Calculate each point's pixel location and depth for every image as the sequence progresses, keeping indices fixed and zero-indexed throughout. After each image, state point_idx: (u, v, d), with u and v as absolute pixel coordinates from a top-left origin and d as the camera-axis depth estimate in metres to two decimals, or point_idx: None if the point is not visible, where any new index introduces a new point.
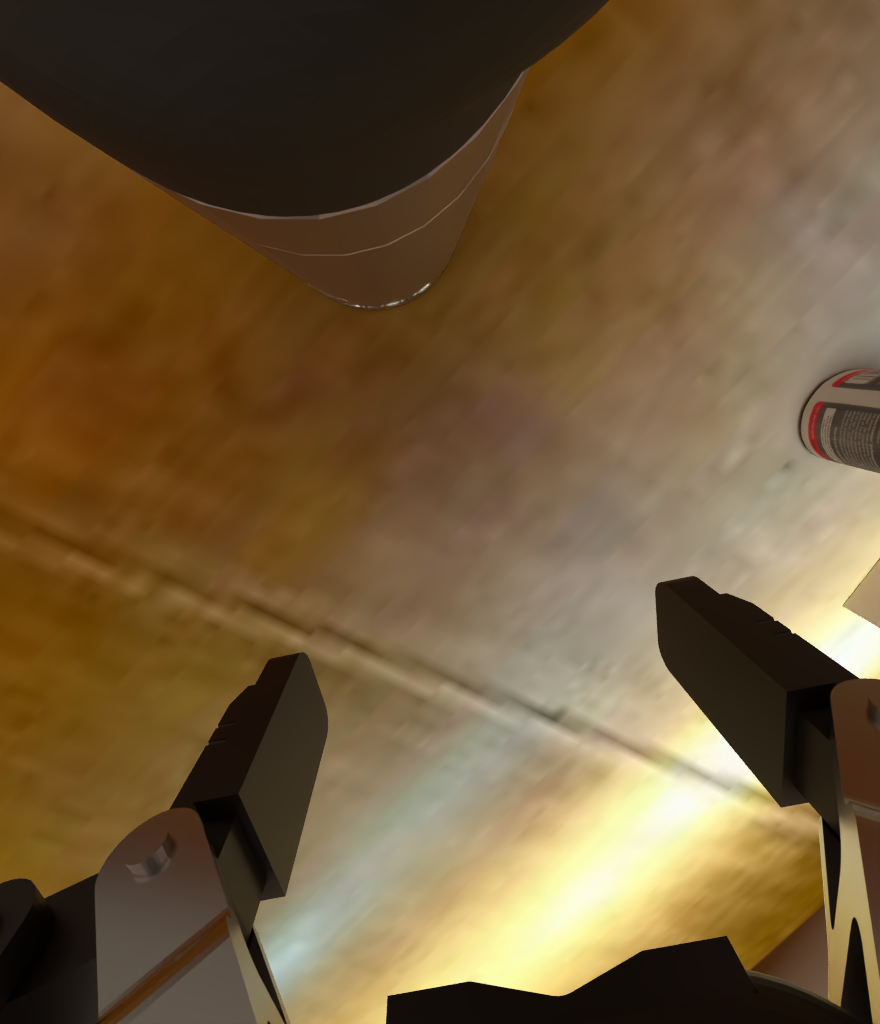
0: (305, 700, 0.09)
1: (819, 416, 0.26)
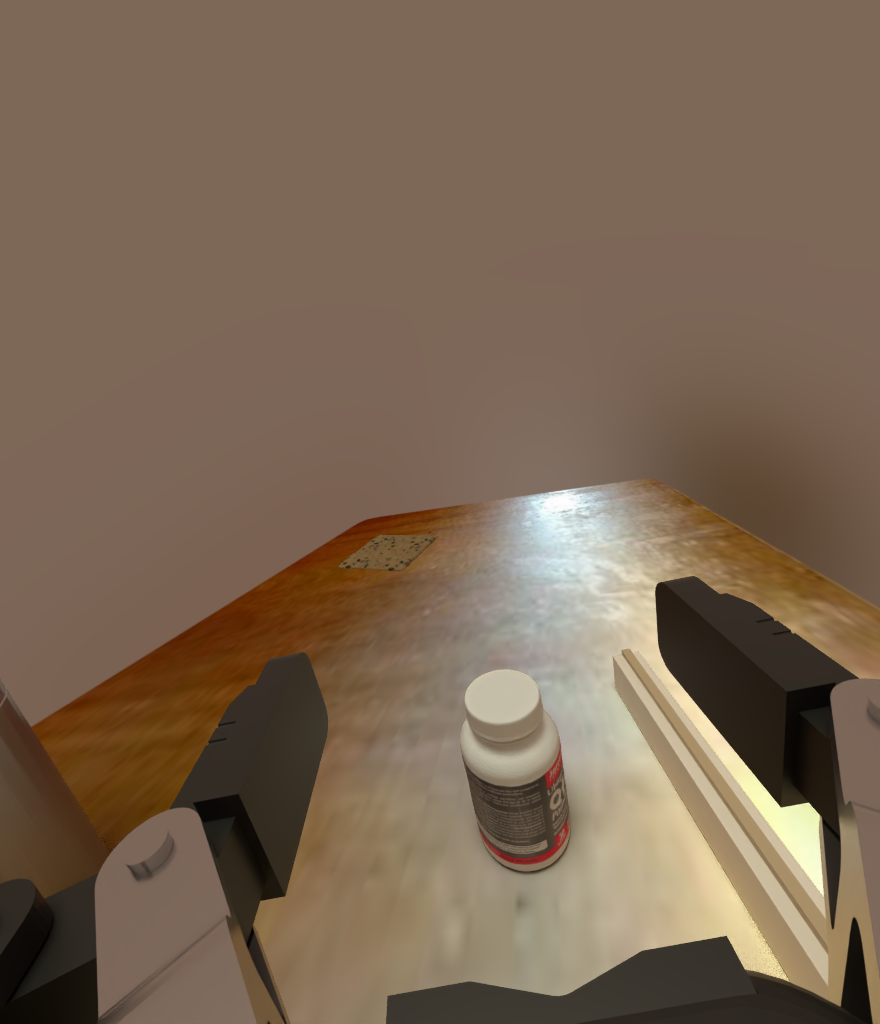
0: (305, 700, 0.09)
1: (481, 831, 0.25)
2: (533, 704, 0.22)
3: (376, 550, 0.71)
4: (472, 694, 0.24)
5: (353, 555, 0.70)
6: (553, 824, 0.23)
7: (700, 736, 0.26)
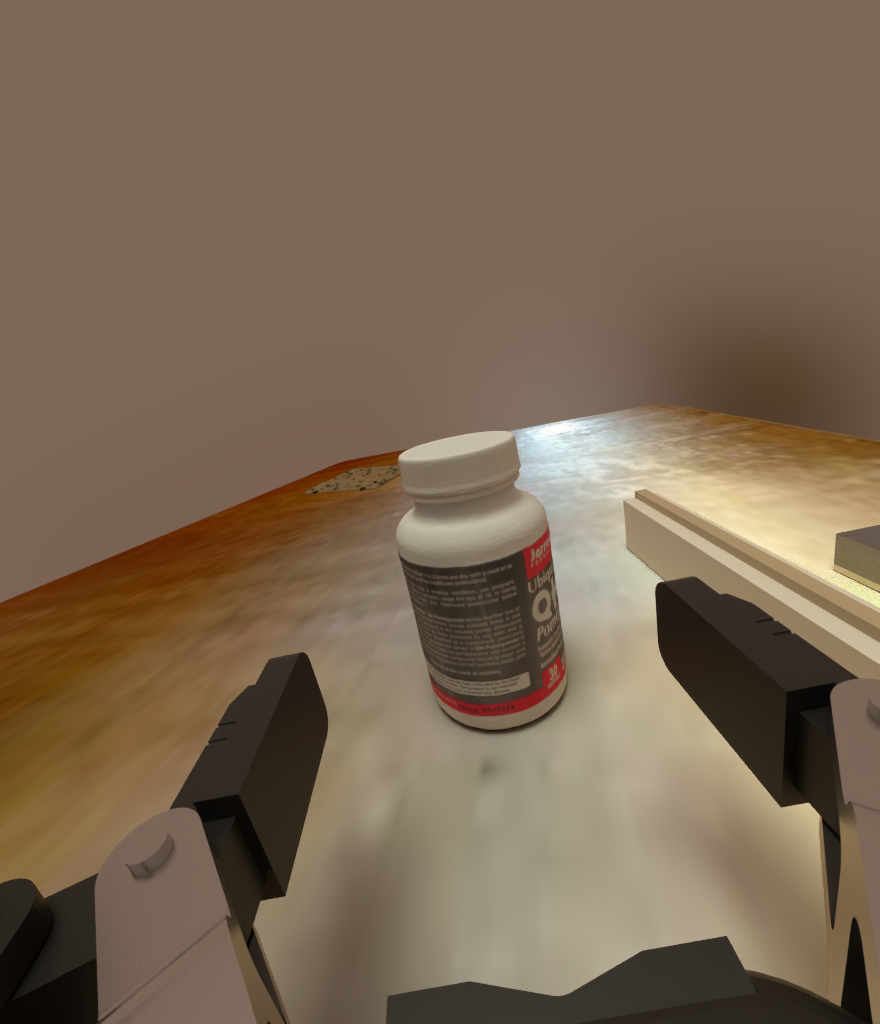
0: (304, 700, 0.09)
1: (432, 680, 0.17)
2: (502, 440, 0.14)
3: (349, 478, 0.62)
4: (411, 451, 0.15)
5: (323, 483, 0.62)
6: (539, 648, 0.15)
7: (757, 547, 0.18)
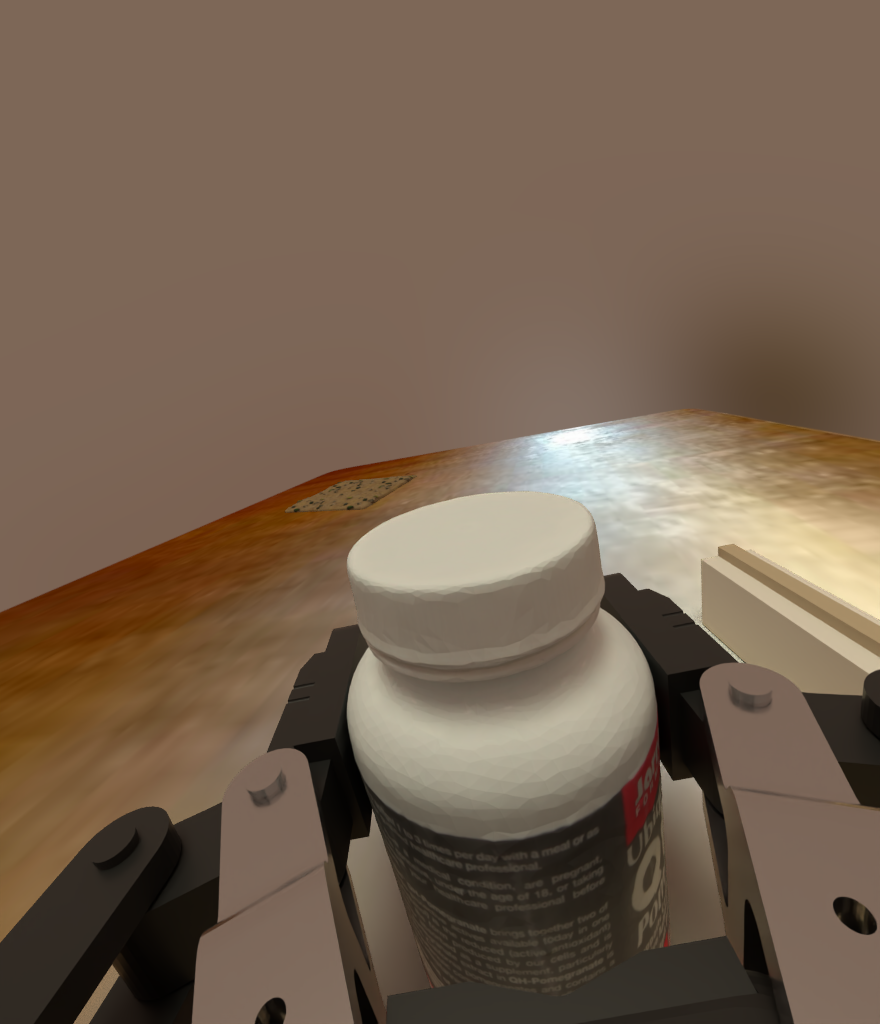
0: None
1: (419, 951, 0.09)
2: (574, 535, 0.06)
3: (336, 493, 0.55)
4: (377, 538, 0.08)
5: (306, 499, 0.54)
6: None
7: None
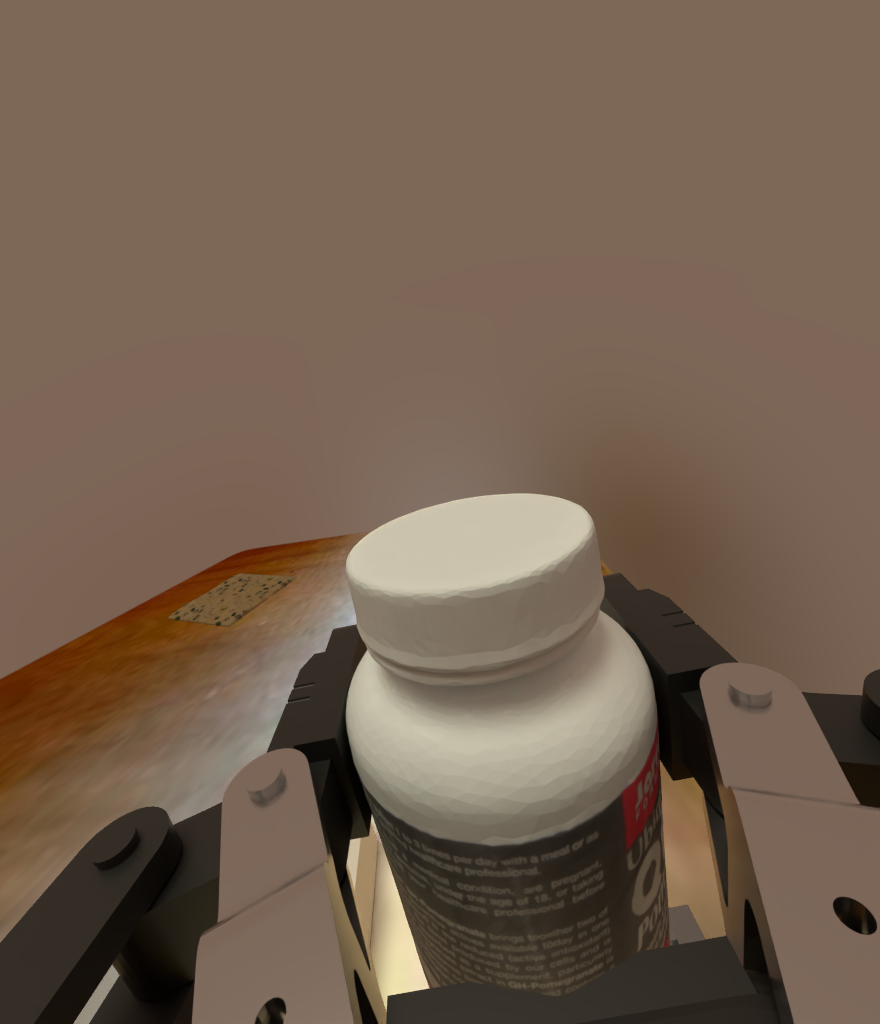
0: None
1: (418, 955, 0.09)
2: (574, 538, 0.06)
3: (220, 595, 0.60)
4: (376, 541, 0.08)
5: (192, 602, 0.60)
6: None
7: None
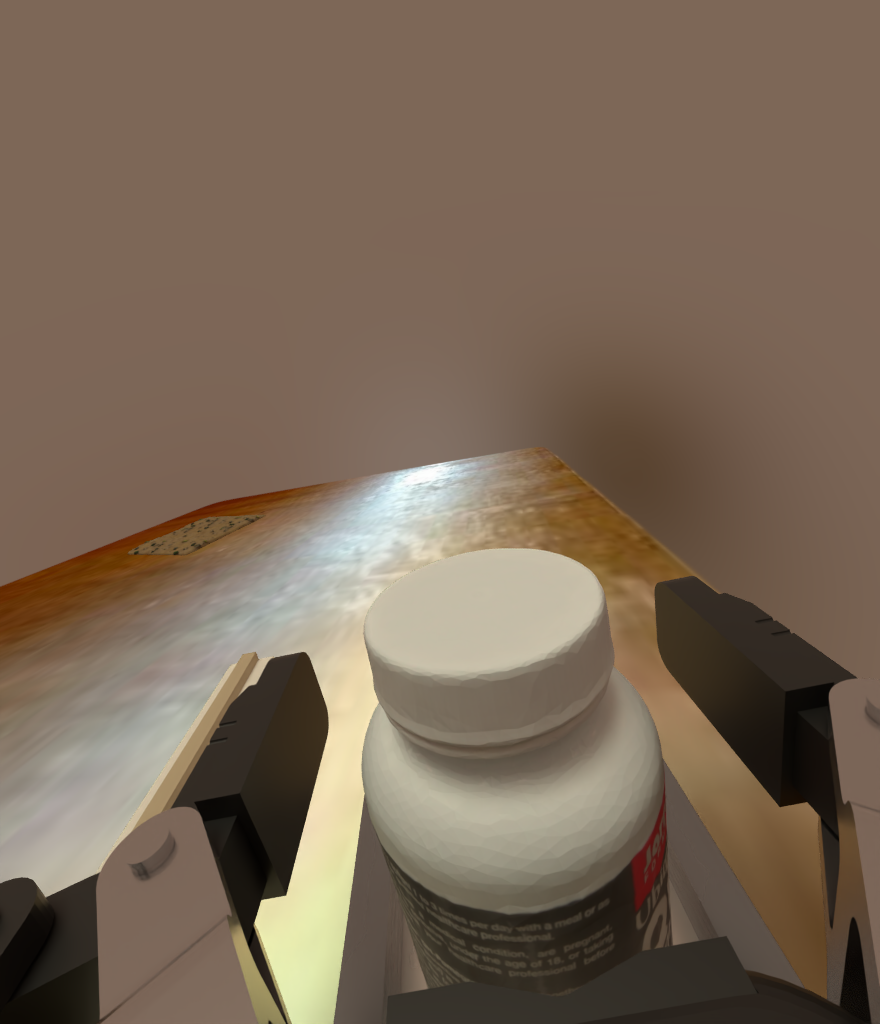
0: (305, 698, 0.09)
1: None
2: (586, 613, 0.06)
3: (185, 533, 0.57)
4: (392, 602, 0.08)
5: (155, 539, 0.57)
6: None
7: None
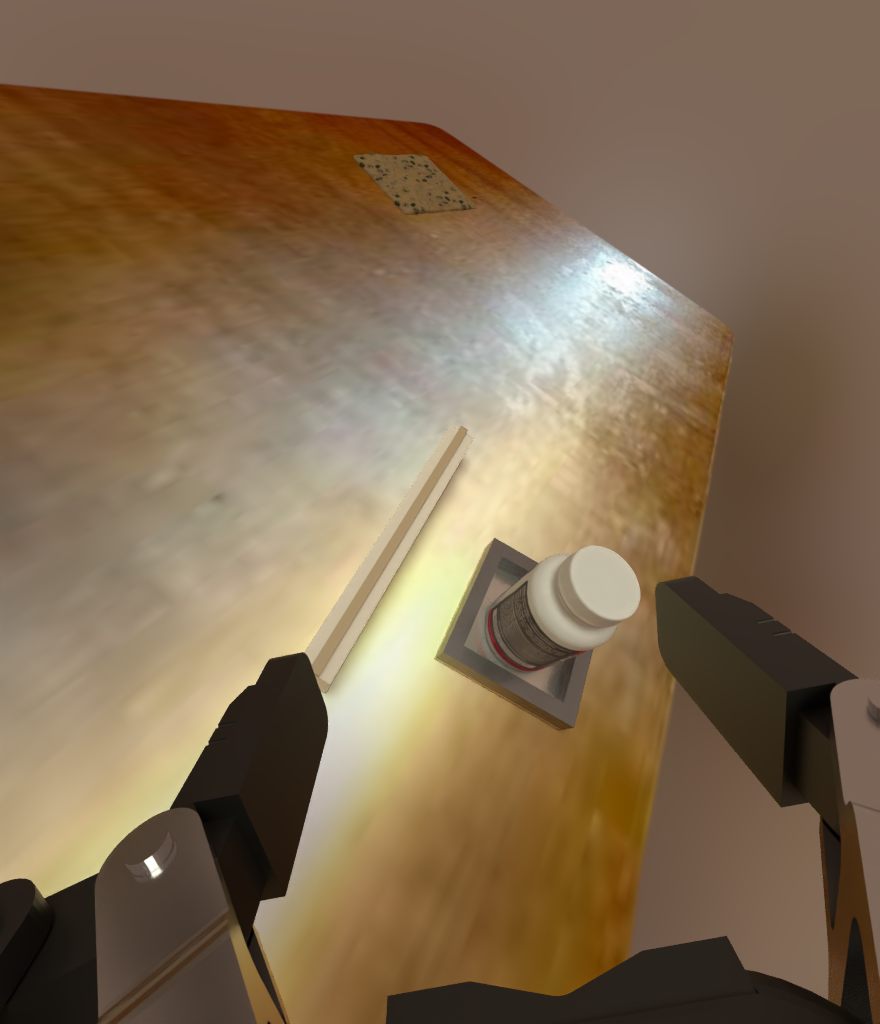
0: (304, 699, 0.09)
1: (491, 619, 0.28)
2: (627, 614, 0.21)
3: (405, 170, 0.57)
4: (581, 560, 0.22)
5: (378, 156, 0.56)
6: (550, 664, 0.26)
7: (427, 514, 0.29)
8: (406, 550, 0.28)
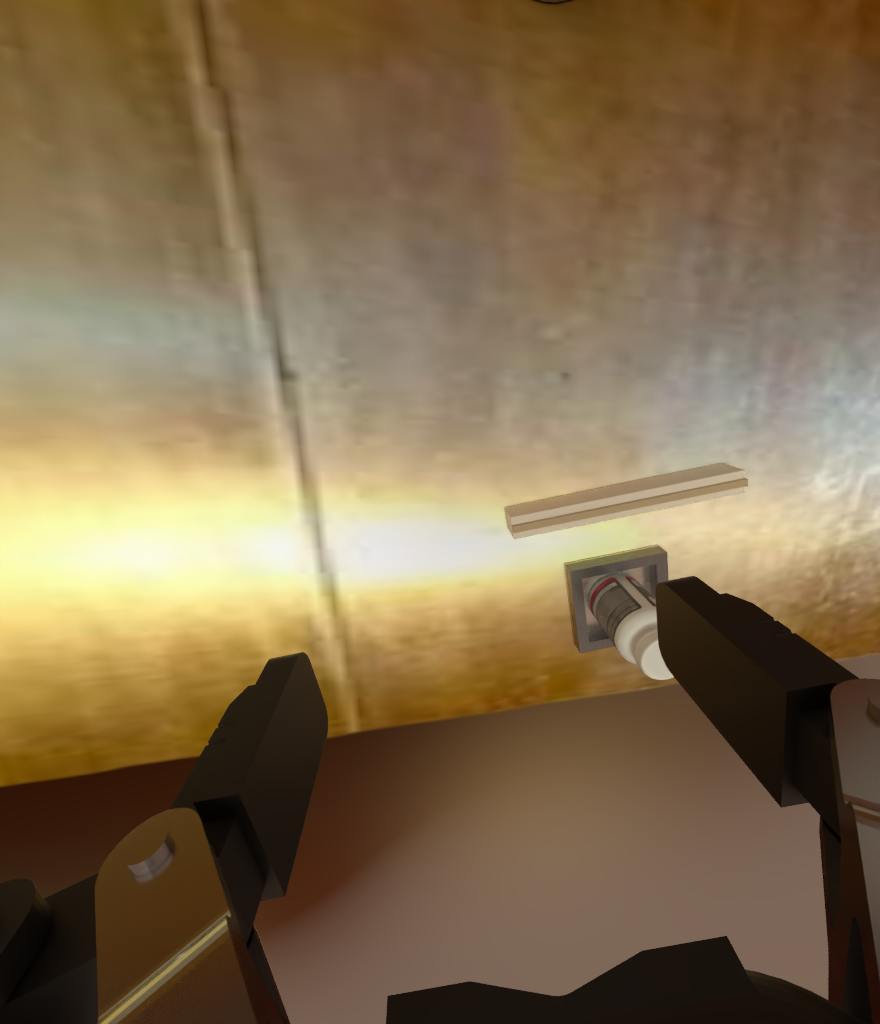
0: (305, 700, 0.09)
1: (608, 583, 0.42)
2: (653, 677, 0.35)
3: None
4: None
5: None
6: None
7: (650, 510, 0.38)
8: (614, 517, 0.38)
